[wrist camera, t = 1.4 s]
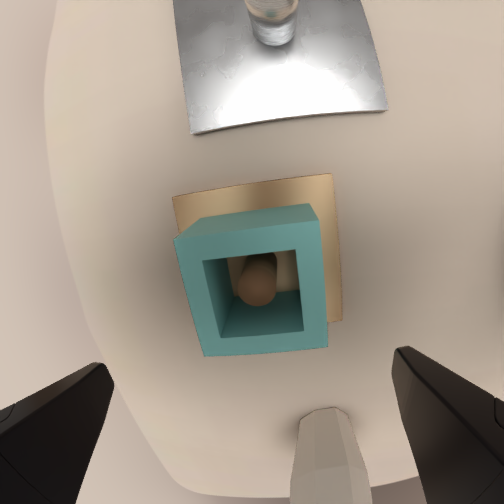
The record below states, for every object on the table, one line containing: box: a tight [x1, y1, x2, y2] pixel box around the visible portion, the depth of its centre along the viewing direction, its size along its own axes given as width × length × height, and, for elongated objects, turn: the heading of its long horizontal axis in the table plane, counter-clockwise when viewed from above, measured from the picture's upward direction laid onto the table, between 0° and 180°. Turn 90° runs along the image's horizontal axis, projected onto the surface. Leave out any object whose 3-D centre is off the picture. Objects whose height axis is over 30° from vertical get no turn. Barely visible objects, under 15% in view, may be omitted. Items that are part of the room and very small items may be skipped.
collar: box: [173, 203, 328, 356], centre depth 17 cm, size 7×7×5 cm
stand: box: [172, 173, 342, 322], centre depth 17 cm, size 10×10×5 cm
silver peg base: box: [173, 0, 388, 135], centre depth 12 cm, size 12×12×7 cm
